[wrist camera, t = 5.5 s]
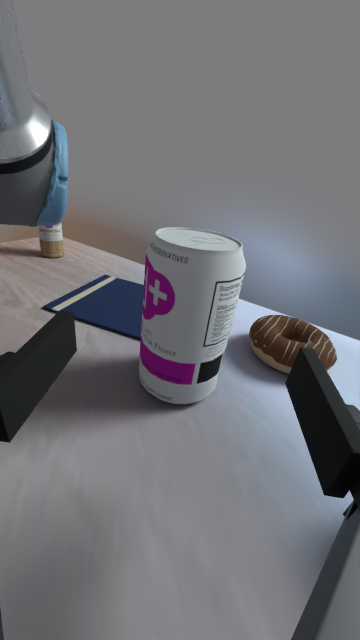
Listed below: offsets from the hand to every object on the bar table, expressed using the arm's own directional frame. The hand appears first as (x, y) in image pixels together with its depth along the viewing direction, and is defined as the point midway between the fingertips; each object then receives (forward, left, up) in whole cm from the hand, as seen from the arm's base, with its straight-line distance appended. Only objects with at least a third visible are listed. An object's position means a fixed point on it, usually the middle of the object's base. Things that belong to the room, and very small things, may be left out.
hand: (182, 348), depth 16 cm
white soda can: (-2, +9, -11) cm, 14 cm away
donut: (+9, +20, -11) cm, 24 cm away
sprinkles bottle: (-39, +32, -11) cm, 52 cm away
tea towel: (-14, +21, -11) cm, 27 cm away
